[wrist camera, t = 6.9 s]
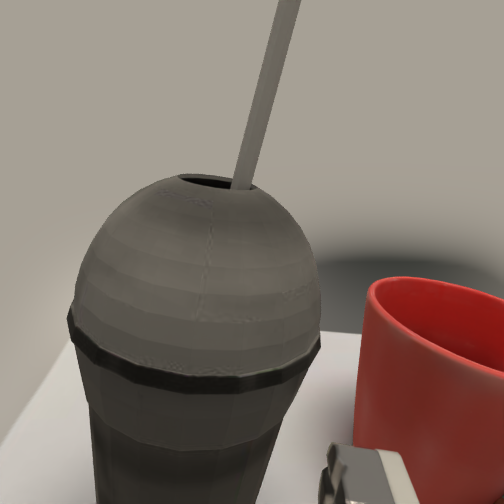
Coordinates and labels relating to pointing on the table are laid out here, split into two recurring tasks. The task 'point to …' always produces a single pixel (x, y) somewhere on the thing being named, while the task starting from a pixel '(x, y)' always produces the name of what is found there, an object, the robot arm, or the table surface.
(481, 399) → the flower pot
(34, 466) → the table surface
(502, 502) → the donut
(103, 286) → the beverage cup
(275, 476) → the table surface
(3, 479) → the table surface
